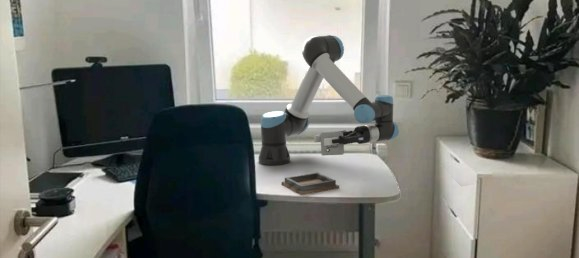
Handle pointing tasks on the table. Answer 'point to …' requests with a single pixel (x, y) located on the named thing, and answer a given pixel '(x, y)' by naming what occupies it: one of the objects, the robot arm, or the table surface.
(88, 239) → the table surface
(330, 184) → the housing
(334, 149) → the electrical switch
